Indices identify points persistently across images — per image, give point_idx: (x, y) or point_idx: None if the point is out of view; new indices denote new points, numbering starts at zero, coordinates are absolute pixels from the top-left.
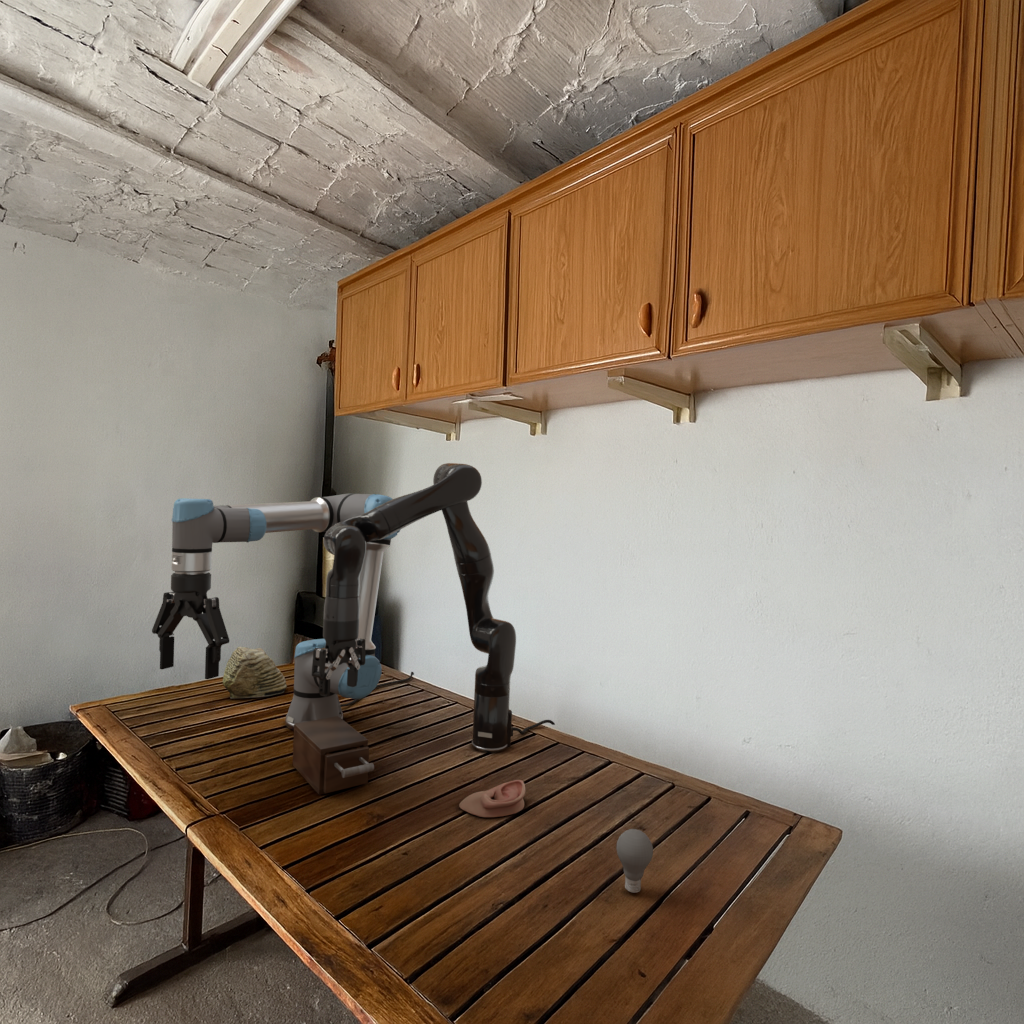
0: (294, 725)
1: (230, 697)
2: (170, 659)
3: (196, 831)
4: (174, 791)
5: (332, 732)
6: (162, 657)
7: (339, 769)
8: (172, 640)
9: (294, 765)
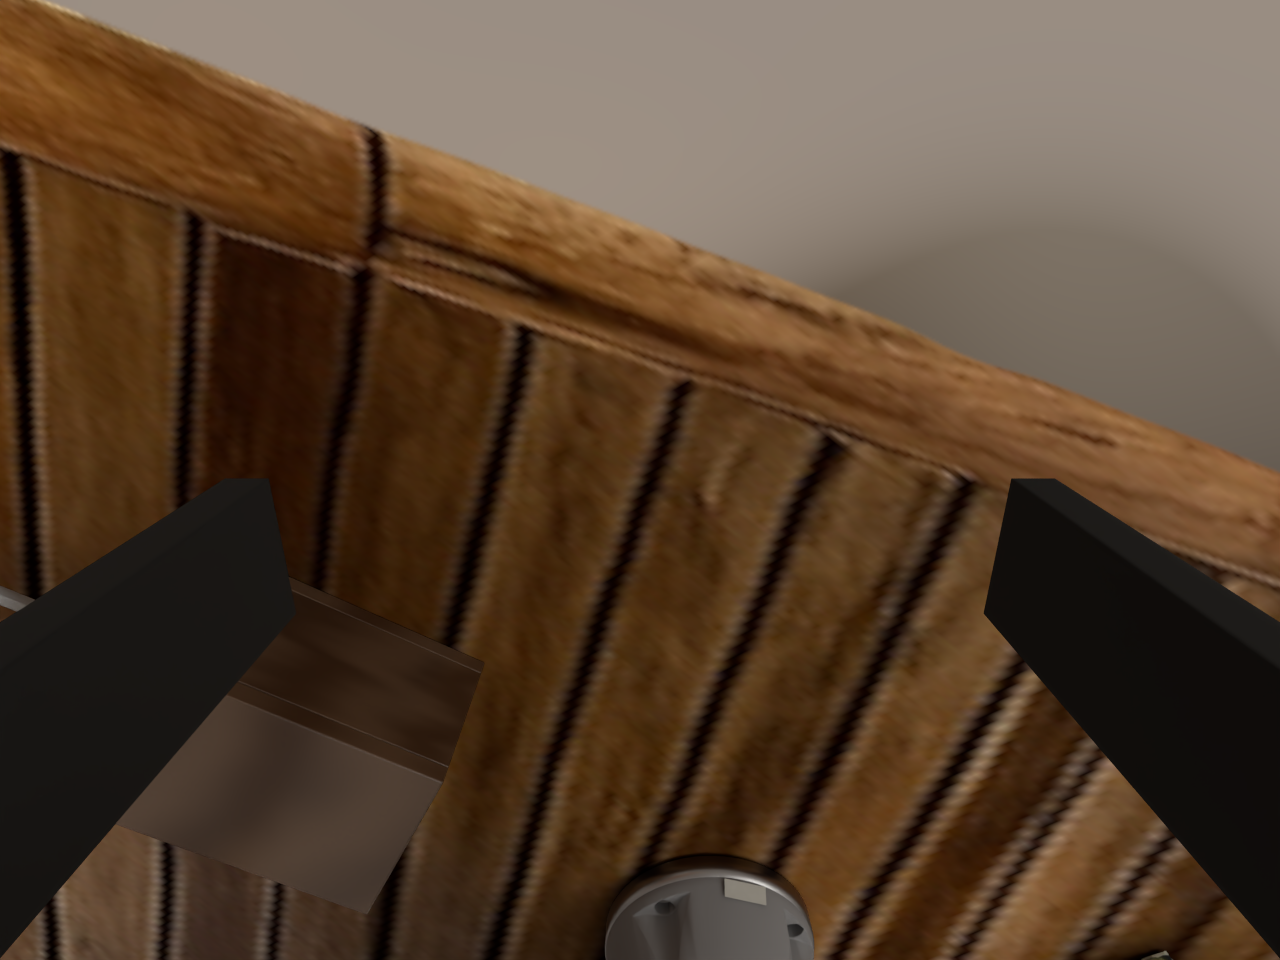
0: (438, 774)
1: (1167, 955)
2: (1043, 629)
3: (307, 115)
4: (675, 305)
5: (219, 786)
6: (1103, 544)
7: (14, 595)
8: (1240, 868)
9: (463, 657)
